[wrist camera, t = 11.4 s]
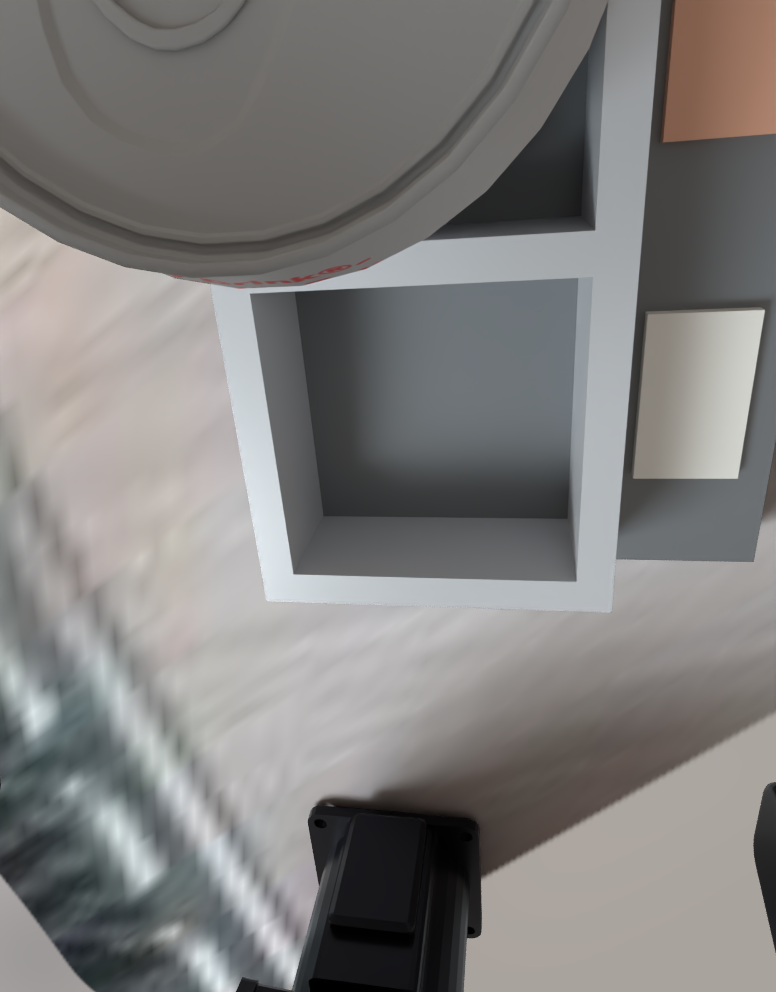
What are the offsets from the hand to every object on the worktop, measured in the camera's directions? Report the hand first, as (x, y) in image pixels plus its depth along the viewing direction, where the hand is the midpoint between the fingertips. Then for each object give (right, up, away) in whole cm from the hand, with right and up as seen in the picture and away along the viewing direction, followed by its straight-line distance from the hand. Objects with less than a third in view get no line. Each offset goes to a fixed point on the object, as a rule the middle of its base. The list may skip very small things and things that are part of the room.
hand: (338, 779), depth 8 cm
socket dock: (+3, +10, +9) cm, 13 cm away
